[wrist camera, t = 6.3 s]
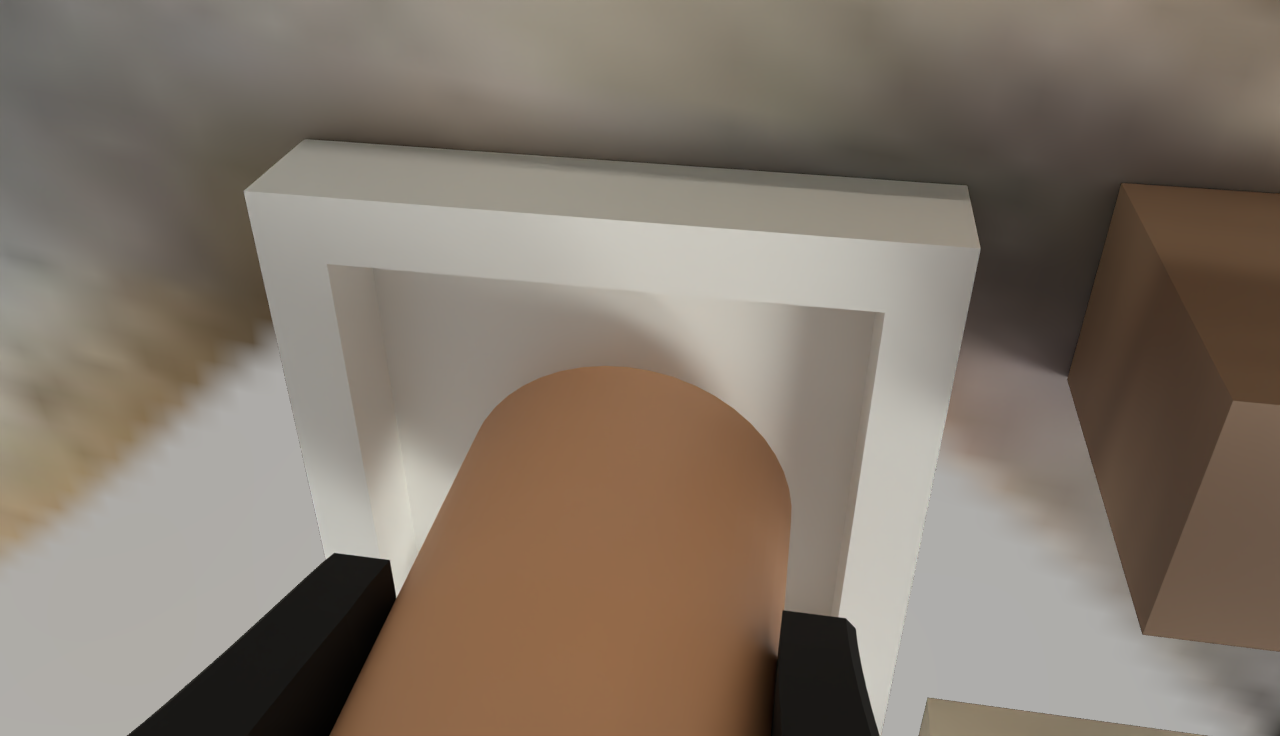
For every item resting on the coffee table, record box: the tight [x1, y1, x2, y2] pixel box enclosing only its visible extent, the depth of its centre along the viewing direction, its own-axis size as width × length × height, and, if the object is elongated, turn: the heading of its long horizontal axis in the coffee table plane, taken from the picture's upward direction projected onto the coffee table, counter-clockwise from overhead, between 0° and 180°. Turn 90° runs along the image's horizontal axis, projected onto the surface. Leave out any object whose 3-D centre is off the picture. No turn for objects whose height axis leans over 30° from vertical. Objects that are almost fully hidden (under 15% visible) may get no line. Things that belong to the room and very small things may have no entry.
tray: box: [244, 139, 981, 736], centre depth 13 cm, size 8×8×2 cm
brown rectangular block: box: [1067, 183, 1280, 652], centre depth 10 cm, size 2×2×4 cm
